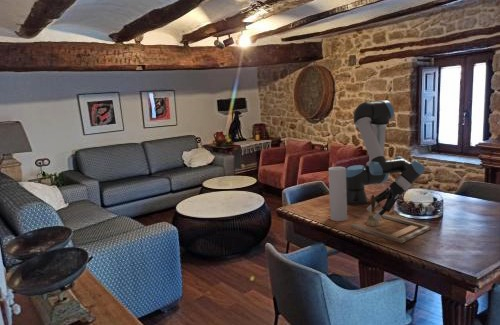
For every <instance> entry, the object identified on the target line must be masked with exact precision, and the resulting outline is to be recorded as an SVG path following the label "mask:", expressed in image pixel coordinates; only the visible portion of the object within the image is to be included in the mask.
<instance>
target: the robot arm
mask: <svg viewBox="0 0 500 325" xmlns="http://www.w3.org/2000/svg"><path fill="white" fill-rule="evenodd" d="M394 116H395V110H394V107H393V104H392V102H390V101H389V100H382V99H381V100H372V101H364V102H362V103H360V104H359V105H357V107H356V108H355V110H354V112H353V124H354V126H355V128H358V132H359V134H360V136H361V138H362V141H363V143H364V144H363V145H364V146H365V148H366V149H365V150H366V152H367V154H368V157H369V158H368V161H367V162H366V164H365V166H364V165H361V164H358V165H357V164H355V165H351V166H348V167H347V168H346V196H347V205H352V206H362V205H365V204H368V200H369V199H368V197H367V193H366V189H365V186H370V185H380V184H384V183H385V182H387V181H388V179H389V176H390V175H391V174H398V173H400V174H399V175H398V176H397V177H396V178H394V181H393V182H392V183H390V185H389V187H387V188H385V190H383V191H382V192H380V193H379V194H377V195H376V196H374V197H375V200H376V202H375V208H376V207H377V206H378V205H379V204H380V203H381V202H382V201H385V202H384V205H383V206H382V207H381V208H380V209H379V210H378V211H377V212H375V213H376V214H375V215H374V216H373V217H374V218H375V219H376V220H378V219H379V220H380V218H382V217H381V216H382V215H383V214H386V213H390V212H391V210H392V208H393V207H394V206H395V203H396V202H397V201H398V200H399V199H400V197H399V196H402V195H403V194H404V193H405V191H406V190H408V189H409V188H410V187H411V186H412V185H413V184H414V183H415V182H416V181H417V179H419V178H420V177H422V175H423V173H425V171H426V167H425V166H424V165H423V164H422V163H421V162H420V161H418V160H417V159H416V160H413V161H412V162H411V160H408V159H407V158H405V157H403V156H400V155H398V156H396V157H394V158H393V159H386V157H385V144H386V130H387V126H388V125H389V124H390V120H392V119H393V118H394ZM366 210H367V211H368V212H369V213H371V212H372V206H371V203H370V205H369V206H367V207H366Z"/></svg>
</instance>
